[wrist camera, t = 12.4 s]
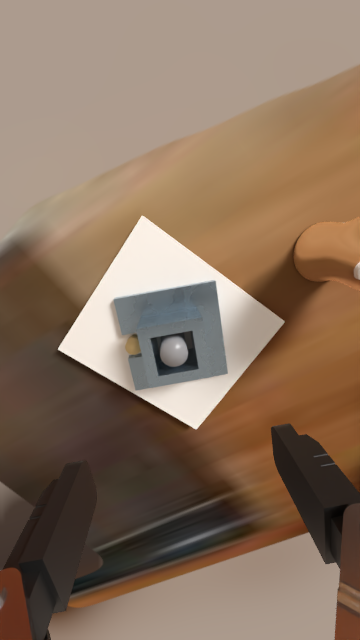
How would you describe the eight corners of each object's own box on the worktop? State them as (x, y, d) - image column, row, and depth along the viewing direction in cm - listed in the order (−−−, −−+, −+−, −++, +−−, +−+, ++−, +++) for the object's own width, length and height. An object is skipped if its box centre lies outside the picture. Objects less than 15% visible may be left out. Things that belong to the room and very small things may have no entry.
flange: (213, 279, 25) (225, 286, 20) (225, 369, 28) (238, 394, 23) (115, 297, 25) (103, 308, 20) (136, 385, 28) (130, 413, 23)
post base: (279, 318, 28) (311, 337, 22) (194, 421, 31) (202, 464, 25) (143, 217, 25) (136, 205, 18) (63, 344, 28) (33, 371, 21)
